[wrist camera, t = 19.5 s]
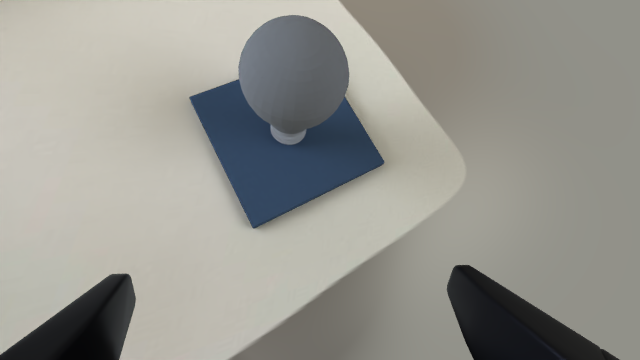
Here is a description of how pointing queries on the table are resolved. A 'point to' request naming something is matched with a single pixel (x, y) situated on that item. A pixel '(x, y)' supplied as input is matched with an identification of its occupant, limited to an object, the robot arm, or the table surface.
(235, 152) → the rubber mat
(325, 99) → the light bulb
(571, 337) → the robot arm
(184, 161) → the table surface
